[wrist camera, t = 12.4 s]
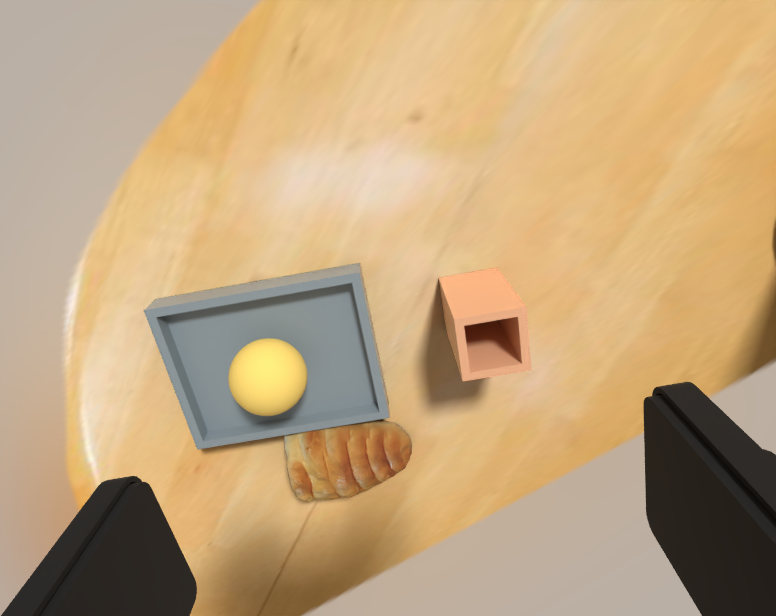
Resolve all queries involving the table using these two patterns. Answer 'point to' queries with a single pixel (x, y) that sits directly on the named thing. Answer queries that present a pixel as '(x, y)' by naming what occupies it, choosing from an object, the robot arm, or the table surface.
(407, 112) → the table surface
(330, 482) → the pastry
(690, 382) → the robot arm
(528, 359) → the open box
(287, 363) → the ball
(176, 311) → the tray
